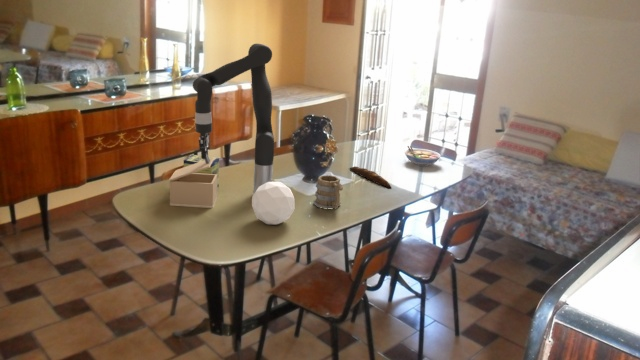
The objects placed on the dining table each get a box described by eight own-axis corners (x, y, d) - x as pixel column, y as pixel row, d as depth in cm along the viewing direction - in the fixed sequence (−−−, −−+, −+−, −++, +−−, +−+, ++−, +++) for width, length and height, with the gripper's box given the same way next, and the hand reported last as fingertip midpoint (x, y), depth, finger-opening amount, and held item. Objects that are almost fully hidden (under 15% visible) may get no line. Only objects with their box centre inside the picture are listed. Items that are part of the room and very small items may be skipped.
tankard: (310, 201, 282) (312, 173, 277) (333, 199, 287) (335, 171, 282) (326, 216, 264) (328, 186, 260) (350, 214, 269) (352, 184, 265)
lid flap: (214, 158, 271) (207, 141, 268) (209, 167, 257) (201, 150, 254) (176, 171, 273) (168, 155, 270) (169, 181, 259) (161, 164, 256)
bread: (394, 188, 310) (395, 180, 308) (388, 190, 307) (389, 181, 306) (352, 168, 339) (353, 161, 337) (346, 169, 336) (346, 162, 335)
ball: (268, 240, 251) (251, 215, 236) (257, 210, 264) (240, 184, 250) (306, 221, 251) (291, 194, 236) (292, 192, 265) (277, 165, 250)
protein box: (211, 193, 282) (212, 163, 277) (183, 188, 285) (182, 159, 280) (219, 186, 292) (219, 158, 287) (191, 182, 295) (191, 154, 290)
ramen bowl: (442, 171, 346) (444, 159, 343) (405, 169, 346) (407, 156, 343) (435, 160, 370) (437, 148, 367) (401, 157, 369) (402, 145, 367)
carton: (217, 197, 277) (217, 174, 273) (212, 207, 264) (212, 184, 260) (176, 194, 276) (176, 171, 272) (170, 205, 263) (169, 181, 259)
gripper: (209, 125, 251) (210, 162, 257) (214, 118, 264) (215, 153, 270) (192, 125, 251) (193, 161, 256) (198, 117, 264) (199, 152, 270)
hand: (204, 157), depth 263 cm, fingers closed on lid flap, 4 cm apart
